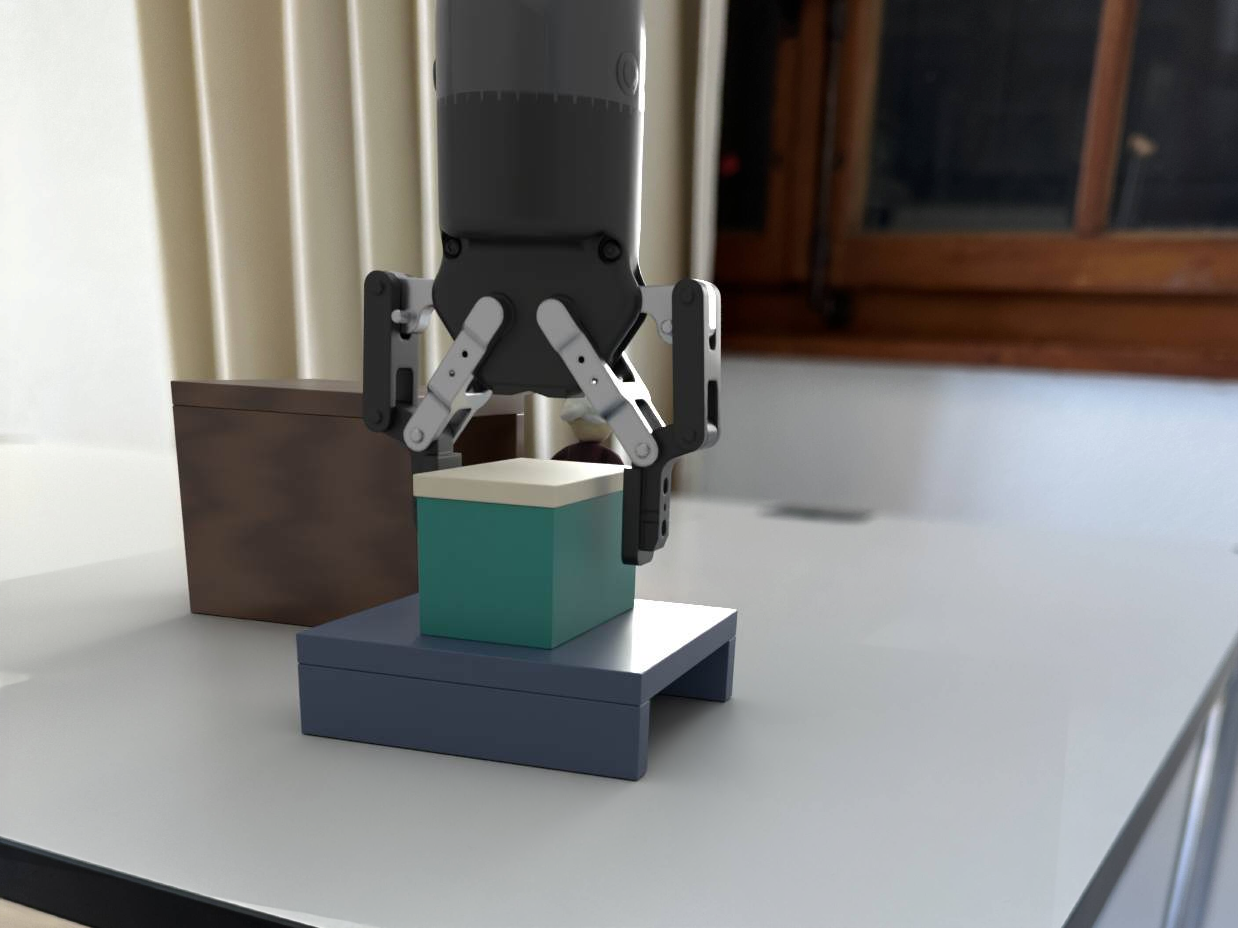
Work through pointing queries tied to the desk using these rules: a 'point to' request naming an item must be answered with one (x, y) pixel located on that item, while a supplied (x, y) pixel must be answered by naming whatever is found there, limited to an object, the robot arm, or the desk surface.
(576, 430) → the grandmother figurine
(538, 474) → the box
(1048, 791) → the desk surface
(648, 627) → the low shelf
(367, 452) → the high shelf
